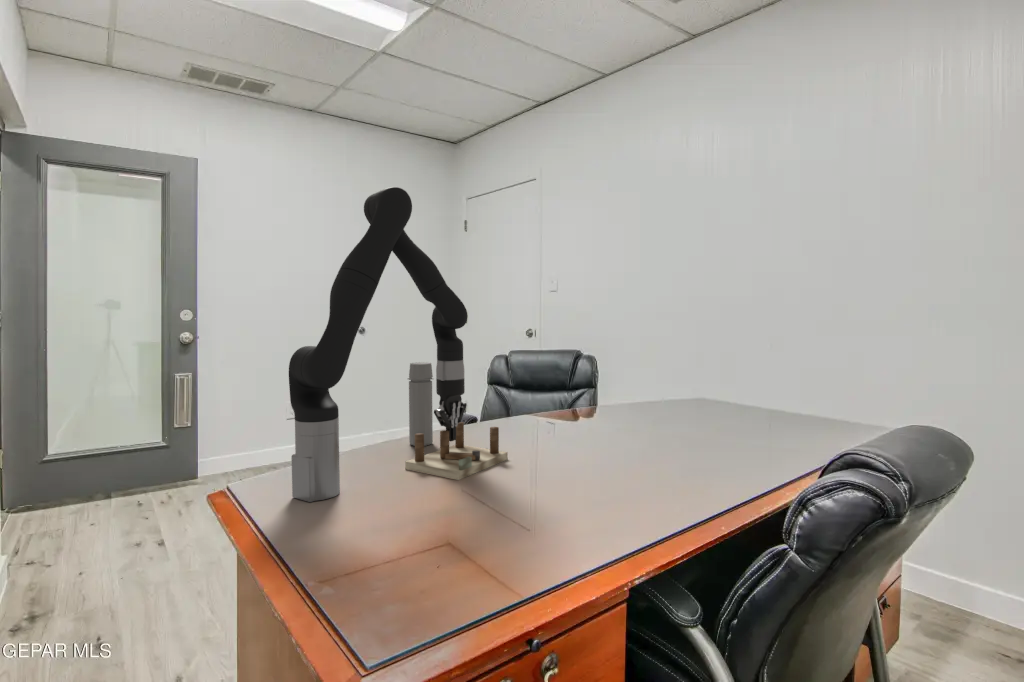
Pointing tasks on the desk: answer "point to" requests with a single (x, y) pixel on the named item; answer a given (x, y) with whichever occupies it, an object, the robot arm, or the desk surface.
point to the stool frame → (456, 466)
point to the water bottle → (420, 402)
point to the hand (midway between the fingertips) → (451, 440)
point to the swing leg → (453, 455)
